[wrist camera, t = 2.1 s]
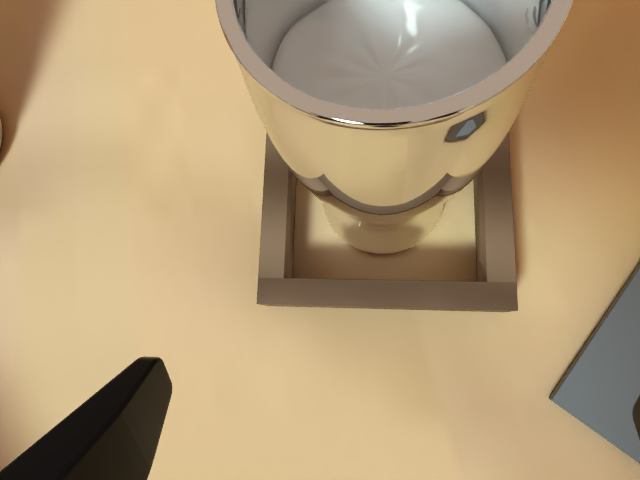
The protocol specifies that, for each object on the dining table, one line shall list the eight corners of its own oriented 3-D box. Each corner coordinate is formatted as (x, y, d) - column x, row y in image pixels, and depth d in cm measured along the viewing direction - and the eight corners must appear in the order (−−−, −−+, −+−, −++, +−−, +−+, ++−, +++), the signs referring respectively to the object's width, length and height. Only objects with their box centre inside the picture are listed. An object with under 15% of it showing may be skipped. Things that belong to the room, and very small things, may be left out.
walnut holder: (504, 311, 21) (518, 310, 19) (267, 305, 22) (256, 303, 20) (494, 88, 23) (505, 66, 21) (278, 97, 24) (269, 77, 22)
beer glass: (335, 120, 24) (264, -214, 9) (467, 147, 22) (631, -186, 8) (298, 243, 23) (150, 93, 8) (434, 279, 21) (551, 180, 7)
